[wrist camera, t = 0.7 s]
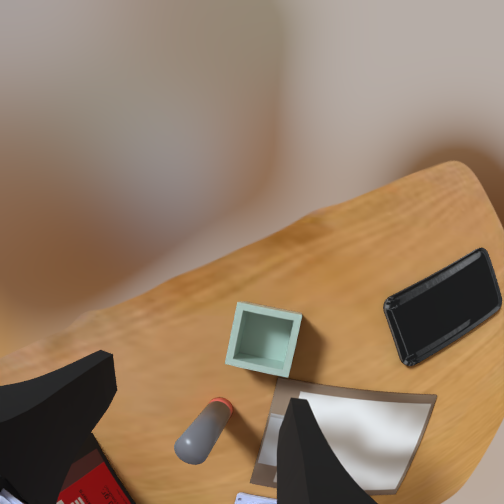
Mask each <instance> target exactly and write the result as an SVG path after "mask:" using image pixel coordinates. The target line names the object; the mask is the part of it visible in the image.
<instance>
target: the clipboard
mask: <svg viewBox="0 0 504 504" xmlns="http://www.w3.org/2000/svg"><path fill="white" fill-rule="evenodd" d="M291 397H292V398H300V399H307V401H308V402H309V404H310V407H311V409H312V412H313V414H314V416H315V418H316V420H317V423H318V425H319V427H320V429H321V431H322V433H323V434H324V436H325V438H326V440H327V442H328V444H329V445H330V447H331V449H332V450H333V452H334V453H335V455H336V456H337V458H338V460H339V461H340V462H341V464H342V465H343V467H344V468H345V469H346V471H347V472H348V473H349V474H350V476H351V477H352V478H353V479H354V480H355V482H356V483H357V484H358V485H359V486H360V487H361V488H362V489H363V490H364V491H365V492H366V493H367V494H368V495H393V494H396V492H397V490H398V488H399V487H400V485H401V483H402V481H403V479H404V477H405V475H406V473H407V471H408V469H409V467H410V464H411V462H412V460H413V458H414V456H415V453H416V451H417V449H418V446H419V444H420V442H421V439H422V437H423V434H424V432H425V429H426V426H427V424H428V421H429V418H430V415H431V413H432V410H433V407H434V404H435V401H436V398H437V395H436V394H410V393H394V392H382V391H371V390H362V389H353V388H345V387H337V386H330V385H323V384H317V383H311V382H305V381H299V380H293V379H288V378H283V377H278V379H277V384H276V388H275V392H274V396H273V400H272V404H271V408H270V412H269V416H268V419H267V423H266V427H265V431H264V434H263V438H262V442H261V445H260V449H259V453H258V456H257V460H256V463H255V467H254V470H253V473H252V477H251V480H250V483H252V484H256V485H262V486H267V487H273V488H277V444H278V435H279V429H280V427H281V424H282V421H283V418H284V416H285V413H286V410H287V407H288V404H289V401H290V398H291Z"/></svg>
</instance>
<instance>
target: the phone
mask: <svg viewBox="0 0 504 504" xmlns="http://www.w3.org/2000/svg"><path fill="white" fill-rule="evenodd" d="M501 304H502V296H501V293H500V289H499V286H498V282H497V279H496V275H495V272H494V269H493V266H492V263H491V260H490V257H489V254H488V252H487V251H486V249H484V248H478V249H475V250H474V251H472V252H471V253H469V254H467V255H466V256H464V257H462V258H460V259H459V260H457V261H455V262H454V263H452V264H450V265H448V266H447V267H445V268H443V269H441V270H439V271H438V272H436V273H434V274H432V275H430V276H428V277H427V278H425V279H423V280H421V281H419V282H417V283H415V284H413V285H411V286H409V287H407V288H406V289H404V290H402V291H400V292H398V293H396V294H394V295H392V296H390V297H388V298H387V299H386V300H385V302H384V306H383V309H384V313H385V316H386V319H387V322H388V324H389V327H390V330H391V333H392V336H393V339H394V342H395V345H396V348H397V351H398V355H399V358H400V360H401V362H402V363H403V364H405V365H407V366H413V365H415V364H417V363H419V362H421V361H422V360H424V359H426V358H428V357H429V356H431V355H433V354H434V353H436V352H438V351H439V350H441V349H443V348H444V347H446V346H447V345H449V344H451V343H452V342H454V341H455V340H457V339H458V338H460V337H461V336H463V335H464V334H466V333H467V332H469V331H470V330H472V329H473V328H475V327H476V326H477V325H479V324H480V323H482V322H483V321H484V320H486V319H487V318H489V317H490V316H491V315H493V314H494V313H495V312H496V311H498V310H499V309H500V307H501Z"/></svg>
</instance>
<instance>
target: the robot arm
mask: <svg viewBox="0 0 504 504" xmlns="http://www.w3.org/2000/svg"><path fill="white" fill-rule="evenodd" d="M116 391H117V385H116V377H115V369H114V360H113V354H111V353H108V352H105V351H102V350H99V351H97V352H95V353H92V354H90V355H88V356H86V357H84V358H82V359H80V360H78V361H76V362H73V363H71V364H69V365H67V366H65V367H63V368H60V369H58V370H55V371H53V372H50V373H48V374H45V375H43V376H40V377H37V378H34V379H31V380H27V381H24V382H20V383H15V384H10V385H4V386H0V504H23V503H25V504H56V503H57V500H58V497H59V494H60V491H61V488H62V486H63V483H64V480H65V478H66V476H67V474H68V471H69V469H70V467H71V465H72V463H73V461H74V459H75V457H76V455H77V453H78V451H79V449H80V447H81V446H82V444H83V443H84V441H85V440H86V438H87V437H88V436H89V434H90V433H91V431H92V430H93V429H94V427H95V426H96V424H97V423H98V422H99V420H100V419H101V417H102V416H103V415H104V413H105V412H106V410H107V409H108V407H109V405H110V403H111V402H112V400H113V398H114V396H115V393H116ZM239 498H241V499H239ZM22 502H23V503H22ZM235 504H378V503H376V502H375V501H374V500H373V499H372V498H371V497H370V496H369V495H368V494H367V493H366V492H365V491H364V490H363V489H362V488H361V487H360V486H359V485H358V484H357V483H356V482H355V480H354V479H353V478H352V477H351V476H350V474H349V473H348V472H347V471H346V469H345V468H344V467H343V465H342V464H341V462H340V461H339V460H338V458H337V456H336V455H335V453H334V452H333V450H332V449H331V447H330V445H329V444H328V442H327V440H326V438H325V436H324V434H323V433H322V431H321V429H320V427H319V425H318V423H317V420H316V418H315V416H314V414H313V412H312V409H311V407H310V404H309V402H308V401H307V399H300V398H292V397H291V398H290V401H289V404H288V407H287V410H286V413H285V416H284V418H283V421H282V424H281V427H280V429H279V435H278V444H277V499H272V498H266V497H261V496H256V495H251V494H246V493H238V494H237V497H236V500H235Z"/></svg>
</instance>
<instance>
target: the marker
mask: <svg viewBox="0 0 504 504" xmlns="http://www.w3.org/2000/svg"><path fill="white" fill-rule="evenodd" d="M232 412H233V407H232V404H231V403H230V402H229V401H228V400H227V399H225V398H221V397H217V398H214V399H212V400H211V401H210V403H209V404H208V405H207V406H206V407H205V409H204V410H203V411H202V412H201V413H200V415H199V416H198V417H197V418H196V419H195V420H194V422H193V423H192V424H191V425H190V426H189V427H188V429H187V430H186V431H185V432H184V433H183V434H182V435H181V437H180V438H179V439H178V440H177V441H176V442H175V445H174V450H175V453H176V454H177V456H178V457H179V458H180V459H181V460H182V461H184V462H186V463H188V464H193V465H197V464H201V463H203V462H204V461H205V460H206V458H207V457H208V455H209V453H210V451H211V450H212V448H213V446H214V445H215V443H216V441H217V439H218V438H219V436H220V434H221V432H222V431H223V429H224V427H225V425H226V423H227V422H228V420H229V418H230V416H231V414H232Z"/></svg>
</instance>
